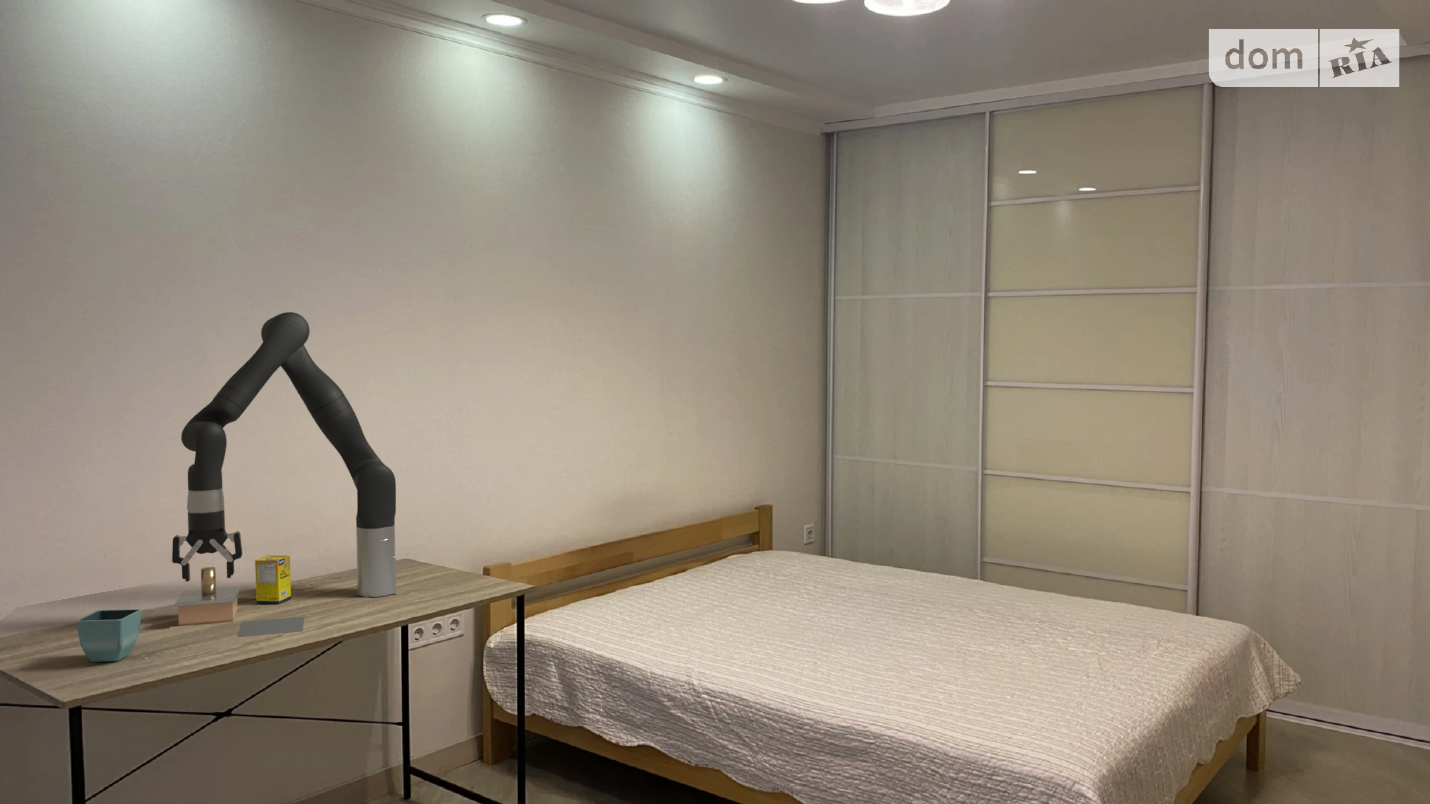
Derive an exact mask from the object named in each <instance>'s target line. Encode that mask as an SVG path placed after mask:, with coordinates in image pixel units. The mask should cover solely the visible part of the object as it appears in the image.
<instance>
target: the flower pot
mask: <svg viewBox="0 0 1430 804" xmlns="http://www.w3.org/2000/svg"><path fill="white" fill-rule="evenodd" d="M142 611H143V609H142V608H139V609H138V608H137V609H134V608H131V609H126V608H125V609H101V610H99V609H98V610H96V611H93V612H91V613H89V614H87V615H85V616H82V617H81V618H79V619H76V620H75V623H76V624H75V625H76V629H77V634H78V638H79V639H78V640H79V644H80V647H81V649H82V651H83V653H84V655H85V656H86V657H87V658H88V659H89V661H91V662H92V663H93V662H94V663H100V662H118V661H120V660H122V659H124V658H125V657H127V656H129V655H130V654H131V652H132V651H133V649H134V647H135V645H136V643H137V641H138V638H139V633H140V628H141V620H142Z"/></svg>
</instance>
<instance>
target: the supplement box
mask: <svg viewBox="0 0 1430 804" xmlns="http://www.w3.org/2000/svg"><path fill="white" fill-rule="evenodd" d="M254 563H255V564H254V565H255V566H254V567H255V591H256V592H255V596H256V605H259V604H260V605H280V604H283V603H285V602H287V601H290V600H291V599H292V578H291V555H276V554H275V555H274V554H273V555H272V554H271V555H265V556H263V557H259V558H257V559H255V560H254Z"/></svg>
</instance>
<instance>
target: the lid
mask: <svg viewBox="0 0 1430 804" xmlns="http://www.w3.org/2000/svg"><path fill="white" fill-rule="evenodd" d="M216 573H217V571H216V567H215V566H206V567H202V568H200V584H201V585H200V589H189V590H182V592H181V594H180V595H179V597H178V598H177V600H176V601H175V607H178V606H186V605H199V604H212V603H225V602H235V601H236V599H237V600H238V596H239V593H240V591H241V586H230V587H218V588H217V581H216V580H217V576H216Z"/></svg>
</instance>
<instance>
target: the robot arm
mask: <svg viewBox="0 0 1430 804" xmlns="http://www.w3.org/2000/svg"><path fill="white" fill-rule="evenodd" d="M310 331H311V330H310V325H309V322H308V321H307V319H306V318H305V317H304V316H303V315H301V314H299V313H297V312H291V311H287V312H282V313H279V314H277V315H274V316H273V317H270V318H269V319H267V320H266V321H264V323H263V325H262V327H261V331H260V336H261V337H260V338H261V339H262V343H261V344H260V346H259V347H258V348H257V350H256V351H255V353H253V354H252V356H251V357H249V359H248V360H247V361H246V362H245V363H244V364H243V365H242V366H241V367H240V368H238V370H237V371H236V372H235V373H234V374H233V375H232V376H230V378H229V379H228V380H227V381H226V382H225V384H224V385H223V386H222V387H221V388H220V390H219V391H218V392H217V393H216V394H215V396H214V397H213V399H212V400H211V401H210V402H209V403H208V404H207V405H205V406H204V407H203V408H202V409H201V410H199V412H197V413H196V414H195V415H194V416H193V417H192V418H190V420H189V421H188V422H187V423H186V424H185V426H184V427H183V429H182V432H181V436H180V439H181V440H180V441H181V444H182V445H183V447H185V448H186V449H187V450H188V451H192V452H195V455H194V456H195V457H194V463H193V464H191V465H190V466H189V467H188V468H187V469H188V470H187V502H186V503H187V505H186V509H187V529H188V530H187V531H188V533H187V535H185V536H183V535H181V536H180V535H178V534H176V535H175V536H174V537H173V538H172V547H171V549H172V550H171V551H172V553H171V555H172V556H171V557H172V558H171V562H172V563H173V564H179V565H180V566H181V576H182V577H181V578H182V580H184V581H185V582H190V581H191V568H190V563H189V561H190V560H191V559H193V558H192V557H194V555H195V554H196V553H197V554H199V555H203V554H216V553H217V552H218V553H219V554H220V555H221V556H222V557H223V558H225V560H226V578H227V579H231V578H232V576H233V575H234V573H235V561H236V560H238V559H241V558H242V556H243V548H242V547H243V546H242V537H241V532H240V531H239V530H236V531H235V532H231V533H227V531H226V521H225V520H226V519H225V517H226V516H225V513H226V512H225V496H224V491H223V489H224V488H223V472H222V471H223V465H224V462H225V457H226V451H227V445H228V444H227V443H228V442H227V441H228V439H227V434H226V431H225V430H224V428H225V427H226V426H228V424H230V423H234V422H236V421H238V420H239V418H240V417H242V415H243V413H244V412H245V411H246V410H247V408H248V407H249V406H250V405H251V403H252V402H253V401H254V400H255V398H256V397H257V396H258V394H259V393H260V392H261V390H262V389H263V388H264V386H265V385H266V384H267V383H268V381H269V379H271V377H272V376H273V375H274V373H276V371H277V370H278V369H279V368H281V369H283V371H284V373H285V374H286V375H287V377H288V378H289V380H290V382H291V384H292V385H293V387H294V389H295V390H296V392H297V394H298V395H299V397H300V399H301V400H302V402H303V404H304V405H305V407H306V409H307V410H308V412H309V414H310V416H311V417H312V419H313V420H314V422H315V424H316V425H317V426H318V429H319V430H320V431H321V433H323V435H324V436H325V437H326V439H327V440H328V442H329V443H330V444H331V445H332V447H334V449H335V450H336V451H337V453H338V454H339V456H340V457H341V458H342V461H343V462H344V465H345V466H346V469H347V470H348V472H349V475H350V477H351V478H352V481H353V484H354V486H355V488H356V496H357V497H356V498H357V501H356V502H357V503H356V504H357V506H356V507H357V509H356V511H357V512H356V517H355V525H356V527H355V528H356V531H355V532H356V571H357V572H356V574H357V575H356V578H357V579H356V580H357V583H356V586H357V595H358V596H360V597H367V598H375V597H377V598H378V597H385V596H391V595H395V594H397V559H396V558H397V556H396V534H395V533H396V531H395V530H396V528H395V518H396V511H397V488H396V487H397V484H396V477H395V474H394V472H393V470H392V469H390V467H388V466H387V465H386V464H385V463H384V462H383V461H382V460H381V459H380V456H378V455H377V454H376V452H375V451H374V449H373V447H371V445H370V444H369V442H368V440H367V438H366V437H365V435H364V431H363V429H362V426H361V424H360V423H361V422H359V418H358V417H357V415H356V412H355V411H354V408H353V407H352V405H351V403H350V401H349V399H348V398H347V397H346V395H345V393H344V391H343V390H342V389H341V387H340V386H339V385H338V384H337V383H336V382H335V381H334V380H333V379H332V378H331V377H330V376H329V375H328V374H327V373H325V371H323V370H322V369H321V368H320V367H319V366H318V365H317V364H316V363H315V361H314V360H313V359H312V356H311V355H310V353H309V351H308V350H307V348H306V346H305V344H306V343H307V342H308V339H309V337H310ZM228 539H229V540H230V542H231V543H233V544H234V553H233V554H232V553H231V551H230V550H229V549H228V548H227V547H226V546H225V544H224V543H225V542H226V540H228ZM185 542H186V543H187V544H188V545H189V546H190V547H191V549H190V550H189V551H188V552H187V553H186V555H185V556H184V557H181V556H180V555H181V554H180V553H181V546H183V545H184V543H185Z"/></svg>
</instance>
